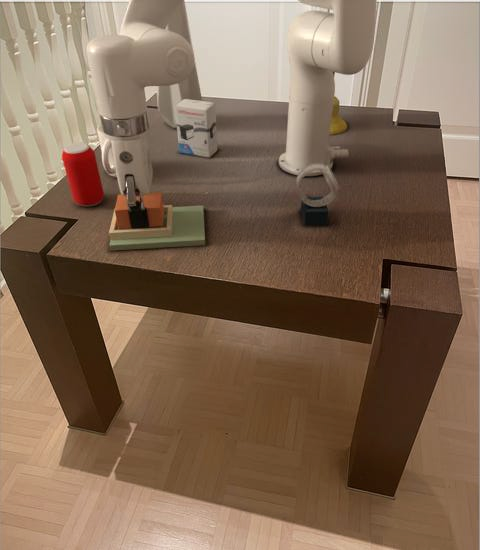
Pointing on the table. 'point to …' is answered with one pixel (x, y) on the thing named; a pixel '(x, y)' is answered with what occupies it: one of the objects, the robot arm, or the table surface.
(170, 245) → the base pad
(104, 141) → the mug
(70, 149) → the beverage can
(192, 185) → the table surface
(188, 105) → the ink box
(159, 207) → the orange box
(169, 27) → the vase
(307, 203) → the grey ring dark base
